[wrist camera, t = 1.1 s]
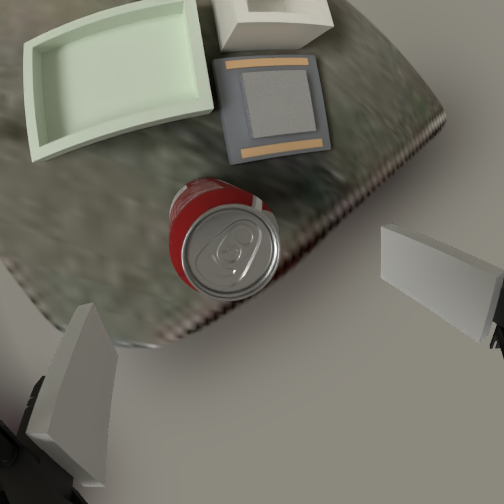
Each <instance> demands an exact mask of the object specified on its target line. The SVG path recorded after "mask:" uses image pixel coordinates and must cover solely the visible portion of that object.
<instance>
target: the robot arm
mask: <svg viewBox="0 0 504 504" xmlns="http://www.w3.org/2000/svg"><path fill="white" fill-rule="evenodd" d="M381 279H383V280H385V281H386V282H388V283H390V284H391V285H393V286H394V287H396V288H397V289H399V290H401V291H402V292H404V293H405V294H407V295H408V296H410V297H411V298H413V299H414V300H416V301H417V302H419V303H420V304H422V305H423V306H425V307H427V308H428V309H429V310H431V311H432V312H434V313H436V314H437V315H439V316H440V317H441V318H443V319H444V320H446V321H448V322H449V323H450V324H452V325H453V326H455V327H456V328H458V329H459V330H461V331H462V332H463V333H465V334H466V335H468V336H469V337H470V338H472V339H473V340H475V341H476V342H478V343H479V342H481V341H482V340H483V339H484V338H485V337H486V336H487V335H488V333H489V331H490V328H491V325H492V321H493V322H495V323H496V324H497V326H496V329H495V332H494V335H493V338H492V340H491V343H490V349H492V348H493V345H494V343H495V341H497V344H496V347H495V348H501V351H502V355H503V358H504V270H503V269H501V268H498V267H496V266H494V265H492V264H490V263H488V262H485V261H483V260H481V259H479V258H477V257H474V256H472V255H470V254H468V253H465V252H463V251H460V250H458V249H456V248H453V247H451V246H449V245H446V244H444V243H442V242H439V241H437V240H434V239H432V238H429V237H427V236H424V235H422V234H419V233H417V232H414V231H411V230H409V229H406V228H403V227H401V226H398V225H395V224H388V225H384V226H381ZM117 359H118V354H117V352H116V350H115V348H114V346H113V344H112V342H111V340H110V338H109V336H108V334H107V332H106V330H105V327H104V325H103V323H102V321H101V319H100V316H99V314H98V312H97V310H96V307H95V305H94V303H93V302H92V303H88V304H84V305H80V306H78V307H77V309H76V311H75V313H74V315H73V317H72V319H71V321H70V323H69V325H68V327H67V329H66V331H65V333H64V335H63V337H62V339H61V342H60V344H59V346H58V348H57V350H56V353H55V355H54V357H53V359H52V362H51V364H50V367H49V369H48V372H47V374H46V376H42V377H41V378H40V380H39V381H38V382H37V383H36V385H35V386H34V388H33V391H32V393H31V396H30V400H29V401H28V404H27V408H26V409H25V412H24V415H23V418H22V420H21V423H20V426H19V429H18V433H17V436H15V435H14V433H13V432H12V431H11V430H10V429H9V428H8V427H7V426H6V425H5V424H4V423H3V421H2V420H0V504H88V503H87V502H86V501H85V500H84V498H83V497H82V496H81V495H80V493H79V492H78V491H77V490H76V489H75V488H74V487H72V485H73V478H74V479H75V480H77V481H78V482H79V483H81V484H82V485H83V486H86V487H105V478H106V454H107V439H108V427H109V417H110V408H111V399H112V392H113V385H114V378H115V371H116V365H117Z"/></svg>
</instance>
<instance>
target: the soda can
mask: <svg viewBox="0 0 504 504" xmlns="http://www.w3.org/2000/svg"><path fill="white" fill-rule="evenodd" d="M169 251H170V257H171V260H172V263H173V266H174V268H175V270H176V272H177V273H178V275H179V276H180V277H181V279H182V280H183V281H184V282H185V283H186V284H187V285H189V286H190V287H191V288H193V289H194V290H196V291H198V292H200V293H202V294H203V295H205V296H207V297H210V298H212V299H216V300H221V301H235V300H240V299H244V298H246V297H249V296H251V295H253V294H255V293H256V292H258V291H259V290H261V289H262V288H263V287H264V286H265V285H266V284H267V283H268V282H269V281H270V280H271V278H272V277H273V275H274V273H275V272H276V269H277V267H278V264H279V261H280V256H281V244H280V232H279V227H278V224H277V221H276V219H275V216H274V215H273V213H272V211H271V210H270V209H269V207H268V206H267V205H266V204H265V203H264V202H263V201H262V200H261V199H259V198H258V197H256V196H255V195H253V194H251V193H249V192H247V191H244V190H242V189H240V188H238V187H235V186H233V185H231V184H229V183H227V182H224V181H222V180H219V179H216V178H199V179H196V180H193V181H191V182H189V183H187V184H186V185H184V186H183V187H182V188H181V189H180V190H179V191H178V192H177V194H176V195H175V197H174V199H173V201H172V203H171V206H170V213H169Z"/></svg>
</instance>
